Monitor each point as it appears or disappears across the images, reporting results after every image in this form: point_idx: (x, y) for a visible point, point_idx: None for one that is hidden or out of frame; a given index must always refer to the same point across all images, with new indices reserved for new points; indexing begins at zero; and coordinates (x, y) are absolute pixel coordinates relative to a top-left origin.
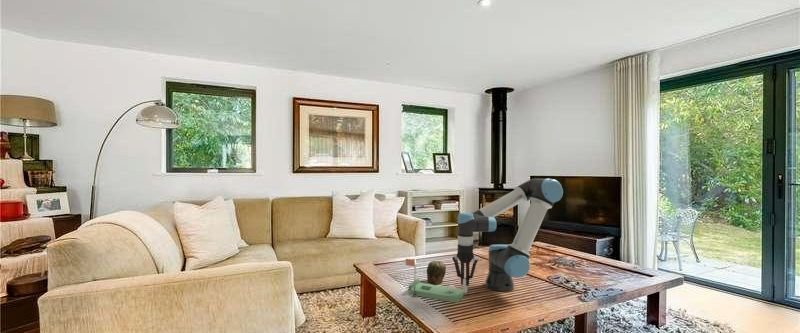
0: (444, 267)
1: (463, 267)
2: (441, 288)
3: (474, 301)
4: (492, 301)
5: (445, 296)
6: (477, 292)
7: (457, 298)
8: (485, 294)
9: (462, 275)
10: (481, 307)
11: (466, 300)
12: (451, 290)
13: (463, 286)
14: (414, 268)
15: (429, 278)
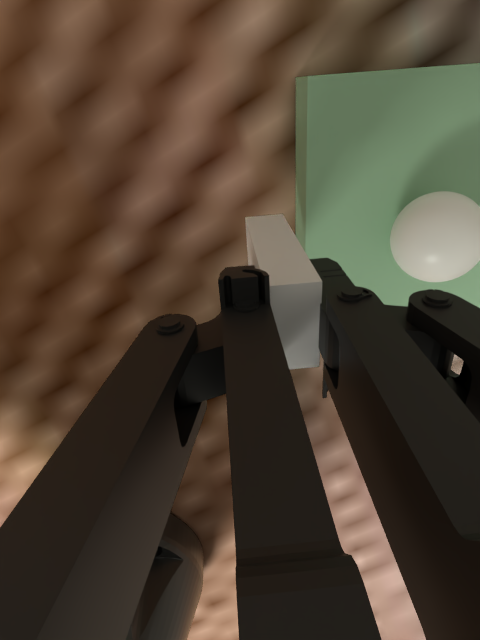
0: None
1: (408, 482)
2: None
3: (153, 214)
4: (11, 301)
5: (470, 64)
6: (205, 413)
7: (313, 76)
8: None
9: (353, 316)
10: (18, 83)
11: (232, 198)
12: (427, 195)
13: (287, 238)
14: None
15: None
